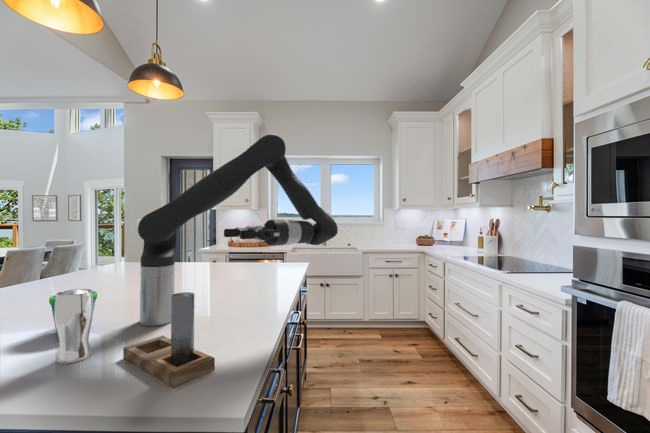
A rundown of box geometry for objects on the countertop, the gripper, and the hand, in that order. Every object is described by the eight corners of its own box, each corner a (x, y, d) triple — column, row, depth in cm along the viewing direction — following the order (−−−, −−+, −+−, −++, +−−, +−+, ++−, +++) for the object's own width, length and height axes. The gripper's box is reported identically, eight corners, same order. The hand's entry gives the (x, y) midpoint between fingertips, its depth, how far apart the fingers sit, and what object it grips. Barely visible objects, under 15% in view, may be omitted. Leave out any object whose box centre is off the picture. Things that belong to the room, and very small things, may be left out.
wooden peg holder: (123, 358, 74) (123, 346, 74) (162, 345, 81) (162, 334, 81) (173, 387, 61) (173, 373, 61) (214, 369, 69) (214, 356, 69)
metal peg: (166, 372, 67) (167, 295, 67) (186, 364, 71) (186, 291, 71) (178, 378, 65) (178, 298, 65) (198, 370, 68) (198, 294, 68)
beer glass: (68, 351, 77) (69, 288, 77) (99, 351, 77) (100, 288, 77) (45, 365, 70) (46, 295, 70) (80, 364, 70) (80, 295, 70)
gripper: (268, 219, 101) (219, 218, 90) (298, 220, 91) (246, 220, 80) (268, 243, 101) (219, 246, 90) (297, 247, 91) (246, 250, 80)
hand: (232, 233), depth 85 cm, fingers open, 8 cm apart
